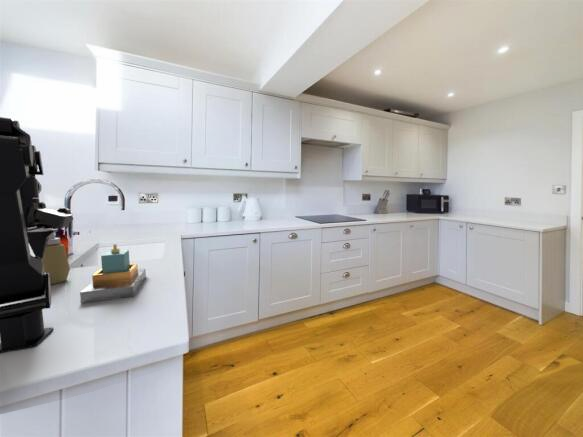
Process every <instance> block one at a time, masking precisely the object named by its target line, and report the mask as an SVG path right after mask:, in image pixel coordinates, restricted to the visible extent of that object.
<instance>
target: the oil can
mask: <svg viewBox="0 0 583 437" xmlns="http://www.w3.org/2000/svg"><path fill="white" fill-rule="evenodd" d="M117 246H118V245H117V243H113V247H112V249H110V251H106V252H105V253H103V254H101V256H100V260H101V268H102V274H104V273H114V272H125V271H129V269H130V264H131V263H130V251H129V249H125V250H120V248H119V247H117Z"/></svg>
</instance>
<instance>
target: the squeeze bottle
mask: <svg viewBox="0 0 583 437" xmlns="http://www.w3.org/2000/svg"><path fill="white" fill-rule="evenodd" d="M51 230H54V229H53V228H51ZM61 242H62V241H61V238H60V237H56V233H54V234H53V235H51V236H50V237H49V240H48V243H47V246H46V250H45V253H44V257H43V258H42V263H43V266H44V271H45V273H49V276H50V285H54V284H60V283H63V282H65V281H67V280H68V276H69V273H70V271H71V268H70V263H69V260H68V255H67V250H66V245H64V244H62V243H61Z"/></svg>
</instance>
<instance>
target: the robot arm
mask: <svg viewBox="0 0 583 437" xmlns="http://www.w3.org/2000/svg"><path fill="white" fill-rule="evenodd" d="M43 168H44V167H43V162H42V154H41V150H37V148H36V146H35V145H34V144H32V137H31V135H30V134H29V133H27V132H26V131H24V130H23V129H22V128H21V126H20V122H19V121H18V120H14V119H13V118H9V117H1V116H0V353H3V352H2V351H4V352H8V350H10V351H14V350H15V351H16V350H22V349H26V348H27V349H28V348H34V347H37V346H38V345H39V344H40V343H42V342H43V340H44V339H46V337H48V335H49V334H51V333H52V332H53V331H54V326H51V327H45V323H44V315H43V310H45V309H51V305H52V291H51V290H52V289H51V284H50V276H49V273H45V271H44V266H43V263H42V258H43V257H44V253H45V250H46V246H47V243H48V240H49V237H50V236H51V235H53V234H56V233H57V232H58V231H59V229H63V228H68V227H69V225H70V222H71V221H73V220H74V217H73V214H72V213H71V209H70V208H66V207H59V208H58V209H57V210H56V209H50V208H47V206H46V203H44V201H40V195H39V194H40V193H41V192H42V184H41V182H40V181H39V180H38V179H37V178H36V176H44V169H43ZM51 228H52V229H53V230H51ZM30 248H31V250H30ZM31 251H32V253H33V255H34V256H33V255H32V254H31ZM43 296H44V297H43ZM21 301H22V302H21Z"/></svg>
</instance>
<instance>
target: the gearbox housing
mask: <svg viewBox="0 0 583 437" xmlns="http://www.w3.org/2000/svg"><path fill="white" fill-rule="evenodd" d="M138 267H139V266H138V263H130V269H129V271H125V272H114V273H104V274H102V267H101V268H99V270H97V271H96V272H95V273H93V274H92V275H91V278H92V282H90V283H89V284H88V285H86V286H85V288H84V289H82V290H81V291H79V295H80V304H86V303H87V304H88V303H94V302H101V301H103V302H104V301H109V300H116V299H118V300H119V299H125V298H131V297H135V295H136V294H137V292H138V290H139V289H140V287H141V285H142V284H143V283H144V281H143V280H145V279H146V277H147V276H146V275H147V274H146V273H147V272H146V268H145V267H143V268H138ZM144 278H145V279H144Z"/></svg>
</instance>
